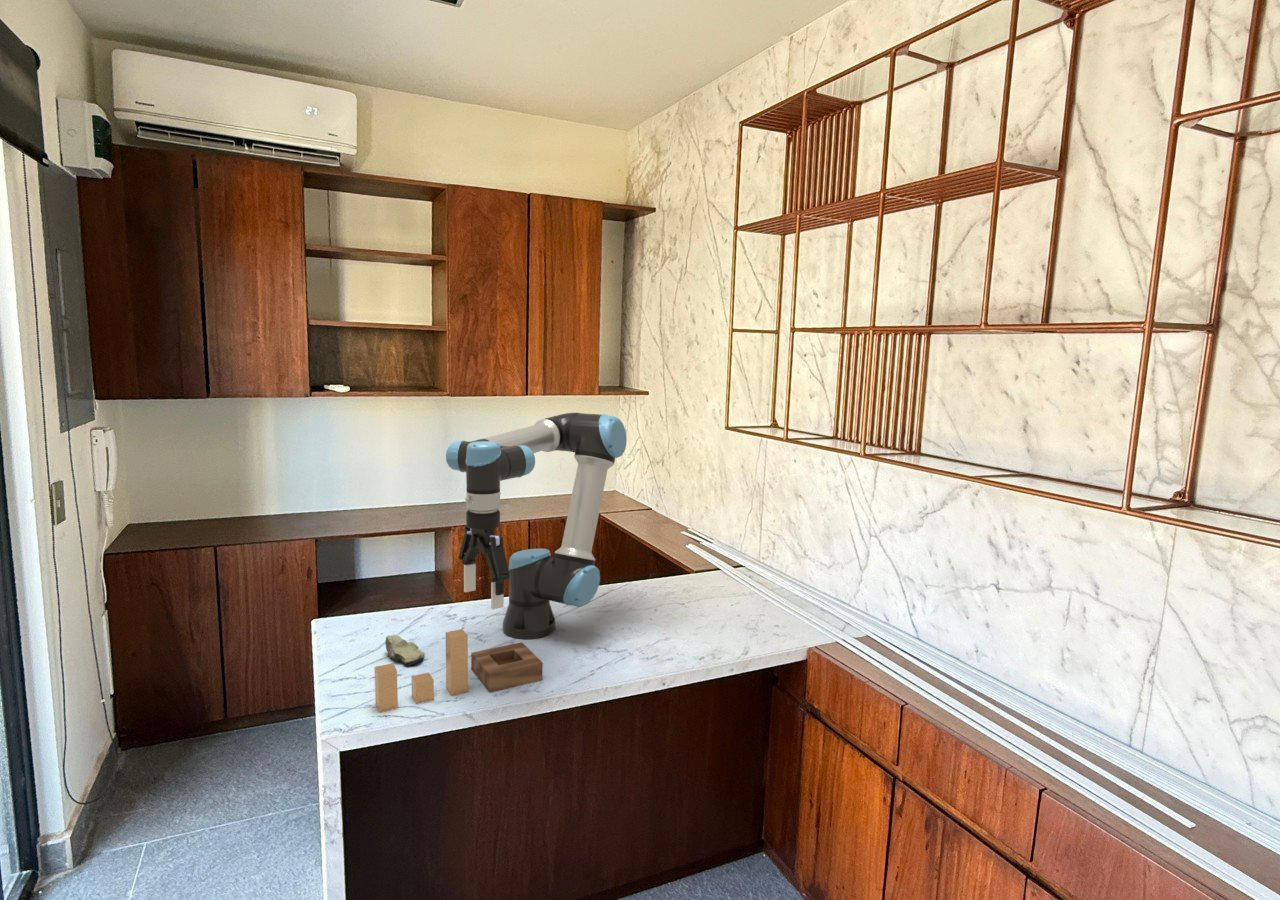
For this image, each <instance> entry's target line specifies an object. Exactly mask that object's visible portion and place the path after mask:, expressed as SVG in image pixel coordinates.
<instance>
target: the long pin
mask: <svg viewBox="0 0 1280 900" xmlns="http://www.w3.org/2000/svg"><path fill="white" fill-rule="evenodd" d="M468 641H469V637H468V634H467V633H466V632H465V631H464V628H461V629H456V630H451V631H446V632H445V685H446V687H445V688H446V691H448V693H449V695H450V696H451V697H452V696H455V695H459V694H465V693H468V692H469V659H468V658H469V648H468V647H469V646H468V645H469V643H468Z"/></svg>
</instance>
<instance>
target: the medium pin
mask: <svg viewBox="0 0 1280 900" xmlns="http://www.w3.org/2000/svg"><path fill="white" fill-rule="evenodd" d="M374 693H375V694H374V695H375V696H374V698H375V699H374V700H375V702H374V703H375V706H376V708H377V710H378V711H377V712H378V713H379V712H380V713H384V712H388V711H392V709H393V710H397V709H398V708H399V701H398V698H399V697H398V696H399V694H398V693H399V692H398V670H397V668H396V666H395V664H394V663H387V664H383V665H378V666H374ZM396 708H397V709H396ZM387 710H388V711H387ZM383 711H384V712H383Z"/></svg>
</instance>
